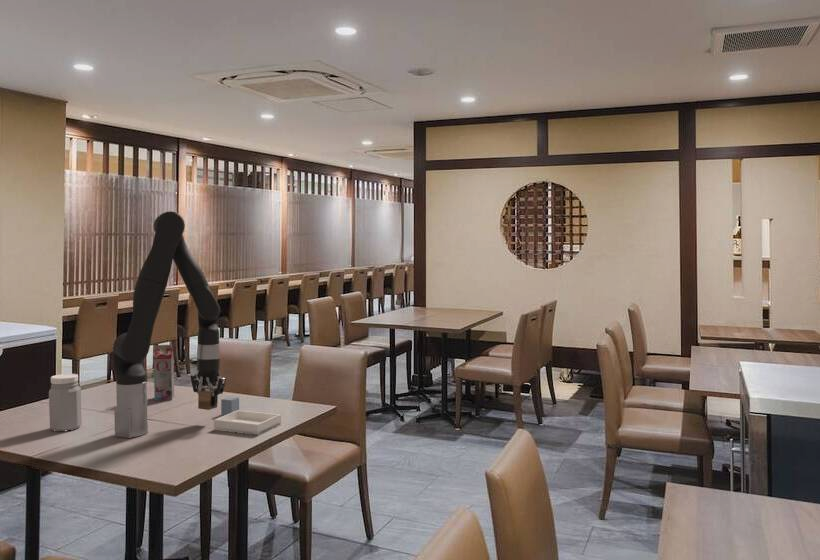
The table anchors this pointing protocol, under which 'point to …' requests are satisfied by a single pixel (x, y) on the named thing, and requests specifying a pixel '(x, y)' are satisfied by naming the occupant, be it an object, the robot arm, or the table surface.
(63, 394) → the jar
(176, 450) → the table surface
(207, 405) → the walnut block
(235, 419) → the tray
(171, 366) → the printed cardboard box
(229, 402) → the slate block
